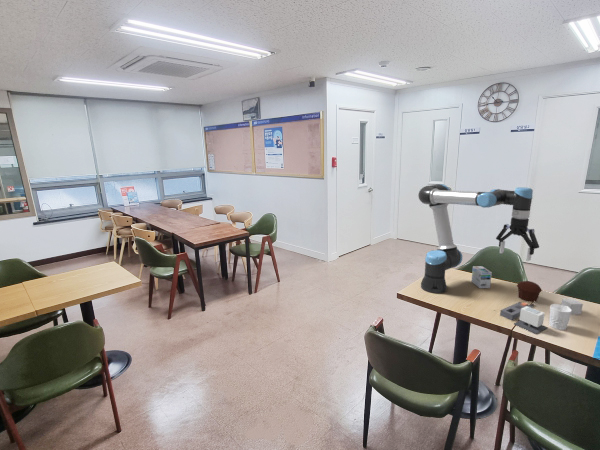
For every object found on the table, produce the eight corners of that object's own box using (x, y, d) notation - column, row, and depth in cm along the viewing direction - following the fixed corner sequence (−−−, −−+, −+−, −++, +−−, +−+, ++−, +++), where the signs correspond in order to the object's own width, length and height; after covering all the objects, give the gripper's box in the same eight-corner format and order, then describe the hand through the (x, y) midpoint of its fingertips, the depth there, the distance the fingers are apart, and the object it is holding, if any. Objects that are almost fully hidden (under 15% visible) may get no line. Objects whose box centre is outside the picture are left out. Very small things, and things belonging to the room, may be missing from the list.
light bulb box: (490, 288, 197) (492, 272, 195) (479, 288, 197) (481, 272, 195) (481, 281, 208) (482, 265, 205) (470, 281, 208) (472, 266, 205)
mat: (513, 324, 158) (513, 323, 157) (524, 319, 162) (525, 317, 162) (536, 334, 149) (536, 333, 149) (547, 328, 154) (547, 327, 153)
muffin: (540, 297, 184) (542, 281, 182) (540, 305, 176) (543, 288, 173) (515, 292, 191) (517, 276, 189) (514, 299, 182) (516, 283, 180)
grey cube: (569, 314, 165) (571, 304, 164) (560, 309, 171) (561, 298, 170) (580, 314, 165) (582, 304, 164) (571, 308, 171) (573, 298, 170)
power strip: (499, 315, 166) (500, 309, 165) (527, 303, 178) (528, 297, 177) (511, 320, 161) (512, 314, 160) (539, 307, 173) (540, 301, 172)
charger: (518, 322, 158) (521, 308, 156) (524, 320, 160) (526, 305, 158) (536, 330, 151) (539, 315, 149) (542, 327, 153) (544, 312, 151)
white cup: (543, 322, 158) (546, 304, 156) (557, 321, 159) (561, 303, 157) (556, 331, 151) (560, 312, 148) (572, 330, 151) (576, 311, 149)
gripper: (491, 214, 173) (487, 251, 178) (543, 223, 152) (536, 264, 157) (499, 212, 176) (495, 249, 182) (551, 221, 155) (544, 262, 160)
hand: (514, 256), depth 169 cm, fingers open, 13 cm apart
